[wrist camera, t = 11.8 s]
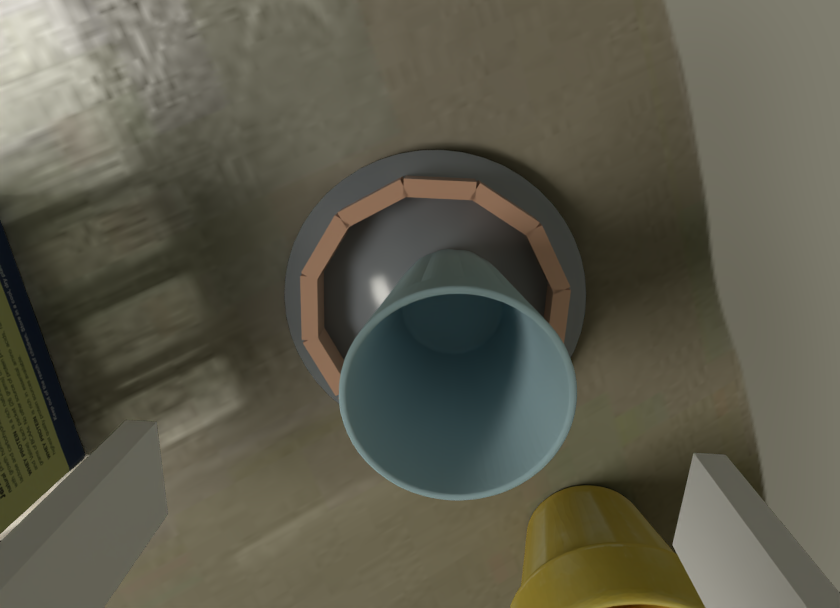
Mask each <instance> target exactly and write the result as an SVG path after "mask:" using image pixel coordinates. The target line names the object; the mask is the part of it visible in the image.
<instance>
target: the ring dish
mask: <svg viewBox="0 0 840 608" xmlns="http://www.w3.org/2000/svg"><path fill="white" fill-rule="evenodd" d="M444 249H454V250H466V251H470V252H473V253H475V254H476V255H478V256H480V257H481V258H483V259H485V260H487V261H489V262H490V263H491V264H492V265H493V266H494V267H495V268H496V269H497V270H498V271H499V272H500V273H501V274H502V275H503V276H504V277H505V278H506V279H507V280H508V281H509V282H510V283H511V284H512V285H513V287H514V288H515V289H516V290H517V291H518V292H519V293H520V294H521V295H522V296H523V297H524V298H525V299H526V300H527V301H528V302H529V303H530V304H531V305H532V306H533V307H534V308H535V309H536V310H537V311H538V313H539V314H540V315H541V316H542V317H543V318H544V319H545V320H546V321H547V322H548V323H549V324H550V325H551V326H552V328H553V329H554V330H555V331H556V333H557V334H558V335H559V337H560V338H561V340H562V342H563V343H564V345H565V347H566V349H567V351H568V353H569V356H570V358H571V356H572V354H573V352H574V350H575V347H576V345H577V342H578V339H579V336H580V334H581V330H582V325H583V320H584V316H585V305H586V285H585V274H584V269H583V264H582V260H581V256H580V253H579V250H578V248H577V245H576V242H575V239H574V237H573V235H572V233H571V231H570V230H569V228H568V226H567V224H566V222H565V220H564V219H563V218H562V216H561V215H560V213H559V212H558V211H557V209H556V208H555V207H554V205H553V204H552V203H551V202H550V201H549V200H548V199H547V198H546V197H545V196H544V195H543V194H542V193H541V192H540V191H539V190H538V189H537V188H536V187H535V186H533V185H532V184H531V183H529V182H528V181H527V180H526V179H524V178H523V177H522V176H520V175H519V174H517V173H515V172H514V171H512V170H510V169H508V168H507V167H505V166H503V165H501V164H499V163H496V162H494V161H492V160H489V159H487V158H484V157H481V156H477V155H473V154H469V153H465V152H460V151H451V150H443V149H438V150H417V151H411V152H404V153H399V154H396V155H393V156H389V157H386V158H383V159H380V160H378V161H376V162H373V163H371V164H369V165H367V166H365V167H362V168H361V169H359V170H357V171H356V172H354V173H353V174H351V175H350V176H348V177H346V178H345V179H343V180H342V181H341V182H340V183H338V184H337V185H336V186H335V187H334V188H333V189H331V190H330V191H329V192H328V193H327V194H326V195H325V196H324V197H323V198H322V199H321V201H320V202H319V203H318V204H317V205H316V206H315V207H314V208H313V210H312V211H311V213H310V214H309V216H308V217H307V219H306V220H305V222H304V223H303V225H302V227H301V229H300V231H299V233H298V235H297V237H296V240H295V242H294V244H293V248H292V251H291V254H290V257H289V260H288V265H287V271H286V277H285V308H286V317H287V321H288V325H289V329H290V333H291V336H292V339H293V341H294V344H295V347H296V349H297V352H298V354H299V355H300V357H301V359H302V361H303V363H304V365H305V366H306V368H307V369H308V371H309V372H310V374H311V375H312V376H313V378H314V379H315V381H316V382H317V383H318V384H319V385H320V386H321V387H322V388H323V389H324V391H325V392H326V393H327V394H328V395H329V396H330V397H332V398H333V399H334V400H335V401H336V402H337V403H339V381H340V374H341V370H342V366H343V363H344V360H345V357H346V355H347V352H348V350H349V348H350V346H351V344H352V343H353V341H354V339H355V338H356V336H357V335H358V333H359V332H360V331H361V329H362V328H363V327H364V326H365V324H366V323H367V322H368V320H369V319H370V318H371V317H372V315H373V314H374V313H375V312H376V310H377V309H378V308H379V307H380V305H381V304H382V303H383V301H384V300H385V299H386V297H387V296H388V295H389V294H390V292H391V291H392V290H393V288H394V287H395V286H396V284H397V283H398V282H399V281H400V279H401V278H402V277H403V275H404V274H405V273H406V272H407V271H408V270H409V269H410V268H411V267H412V266H413V265H414V264H415V263H416V262H417V261H418V260H419V259H420V258H422V257H424V256H426V255H429V254H432V253H434V252H437V251H440V250H444Z"/></svg>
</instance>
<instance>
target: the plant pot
mask: <svg viewBox="0 0 840 608" xmlns="http://www.w3.org/2000/svg"><path fill="white" fill-rule="evenodd" d="M510 608H705V606H704V604H703V602H702V600H701V598H700V596H699V595H698V593H697V591H696V589H695V587H694V585H693V583H692V581H691V579H690V578H689V576H688V574H687V572H686V570H685V568H684V566H683V564H682V562H681V561H680V559H679V557H678V555H677V554H676V553H674V552H673V551H672V549H671V548H670V547H669V546H668V545H667V543H666V542H665V541H664V540H663V539H662V538H661V536H660V535H659V534H658V533H657V532H656V531H655V529H654V528H653V527H652V526H651V525H650V523H649V522H648V521H647V520H646V519H645V518H644V516H643V515H642V514H641V513H640V512H639V510H638V509H637V508H636V507H635V506H634V505H633V504H632V502H631V501H629V500H628V499H627V498H626V497H624V496H623V495H621V494H620V493H618V492H616V491H613V490H611V489H608V488H605V487H599V486H590V485H582V486H574V487H569V488H566V489H563V490H561V491H558V492H556V493H554V494H553V495H551V496H549V497H548V498H547V499H546V500H544V501H543V502H542V503H541V504H540V505H539V506H538V507H537V508H536V510H535V511H534V513H533V514H532V516H531V519H530V521H529V524H528V528H527V536H526V547H525V556H524V565H523V574H522V583H521V587H520V588H519V590H518V591H517V593H516V595H515V597H514V599H513V601H512V603H511V606H510Z"/></svg>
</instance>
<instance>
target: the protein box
mask: <svg viewBox="0 0 840 608" xmlns="http://www.w3.org/2000/svg"><path fill="white" fill-rule="evenodd" d="M84 456H85V453H84V450H83V448H82V445H81V442H80V439H79V437H78V434H77V431H76V428H75V425H74V423H73V420H72V417H71V415H70V412H69V409H68V406H67V403H66V400H65V398H64V395H63V392H62V390H61V387H60V384H59V381H58V379H57V376H56V373H55V370H54V367H53V364H52V361H51V359H50V356H49V353H48V351H47V348H46V345H45V342H44V339H43V337H42V334H41V331H40V328H39V325H38V323H37V320H36V317H35V315H34V312H33V309H32V306H31V304H30V301H29V298H28V295H27V293H26V290H25V287H24V284H23V282H22V279H21V276H20V273H19V270H18V268H17V265H16V262H15V259H14V257H13V254H12V251H11V248H10V246H9V243H8V240H7V237H6V235H5V232H4V229H3V226H2V224H1V221H0V534H1V533H2V532H3V531H4V530H5V529H6V528H7V527H8V526H9V525H10V524H11V523H13V522H14V521H15V520H16V519H17V518H18V517H19V516H20V515H21V514H23V513H24V512H25V511H26V510H27V509H28V508H29V507H30V506H31V505H32V504H33V503H35V502H36V501H37V500H38V499H39V498H40V497H41V496H42V495H43V494H44V493H46V492H47V491H48V490H49V489H50V488H51V487H52V486H53V485H54V484H55V483H56V482H57V481H59V480H60V479H61V478H62V477H63V476H64V475H65V474H66V473H68V472H69V471H70V470H72V469H73V468H74V467H75V466H76V465H77V464H78V463H79V462H81V461H82V460H83V459H84Z"/></svg>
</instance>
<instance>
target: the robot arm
mask: <svg viewBox="0 0 840 608" xmlns="http://www.w3.org/2000/svg"><path fill="white" fill-rule="evenodd" d="M167 515H168V509H167V501H166V493H165V485H164V477H163V469H162V461H161V452H160V444H159V436H158V428H157V422H153V421H136V420H126V421H125V422H123V423H122V424H121V425H120V426H119V427H118V428H117V429H116V430H115V431H114V432H113V433H112V434H111V435H110V436H109V437H108V438H107V439H106V440H105V441H104V442H103V443H102V444H101V445H100V446H99V447H98V448H97V449H96V450H95V451H94V452H92V453H91V454H90V455H89V456H88V457H87V458H86V459H85V460H84V461H83V462H82V463H81V464H80V465H79V466H78V467H77V468H76V469H75V470H74V471H73V472H72V473H71V474H70V475H69V476H68V477H67V478H66V479H65V480H64V481H63V482H62V483H60V484H59V485H58V486H57V487H56V488H55V489H54V490H53V491H52V492H51V493H50V494H49V495H48V496H47V497H46V498H45V499H44V500H43V501H42V502H41V503H40V504H39V505H38V506H37V507H36V508H35V509H34V510H33V511H32V512H31V513H30V514H28V515H27V516H26V517H25V518H24V519H23V520H22V521H21V522H20V523H19V524H18V525H17V526H16V527H15V528H14V529H13V530H12V531H11V532H10V533H9V534H8V535H7V536H6V537H5V538H4V539H3V540H2V541H0V608H104V607H105V605H106V604H107V602H108V601H109V599H110V598H111V596H112V595H113V593H114V592H115V591H116V589H117V588H118V586H119V585H120V583H121V582H122V580H123V579H124V577H125V576H126V575H127V573H128V572H129V570H130V569H131V567H132V566H133V564H134V563H135V561H136V560H137V559H138V557H139V556H140V554H141V553H142V551H143V550H144V548H145V547H146V545H147V544H148V542H149V541H150V540H151V538H152V537H153V535H154V534H155V532H156V531H157V529H158V528H159V526H160V525H161V524H162V522H163V521H164V519H165V518H166V516H167ZM672 545H673V547H674V549H675V551H676V553H677V555H678V557H679V559H680V561H681V562H682V564H683V566H684V568H685V570H686V572H687V574H688V576H689V578H690V579H691V581H692V583H693V585H694V587H695V589H696V591H697V593H698V595H699V596H700V598H701V600H702V602H703V604H704V606H705V608H840V592H838V590H837V589H836V588H835V587H834V585H833V584H832V583H831V582H830V581H829V579H828V578H827V577H826V576H825V575H824V573H823V572H822V571H821V570H820V569H819V567H818V566H817V565H816V564H815V562H814V561H813V560H812V559H811V558H810V556H809V555H808V554H807V553H806V552H805V550H804V549H803V548H802V547H801V546H800V544H799V543H798V542H797V541H796V539H795V538H794V537H793V536H792V535H791V533H790V532H789V531H788V530H787V528H786V527H785V526H784V525H783V524H782V522H781V521H780V520H779V519H778V518H777V516H776V515H775V514H774V513H773V511H772V510H771V509H770V508H769V507H768V505H767V504H766V503H765V502H764V501H763V499H762V498H761V497H760V496H759V495H758V493H757V492H756V491H755V490H754V488H753V487H752V486H751V485H750V484H749V482H748V481H747V480H746V479H745V478H744V476H743V475H742V474H741V473H740V471H739V470H738V469H737V468H736V467H735V465H734V464H733V463H732V462H731V461H730V459H729V458H728V457H727V456H726V455H723V454H706V453H693V457H692V462H691V466H690V470H689V475H688V479H687V484H686V488H685V492H684V497H683V501H682V505H681V510H680V514H679V518H678V523H677V527H676V531H675V536H674V540H673V544H672Z"/></svg>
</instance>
